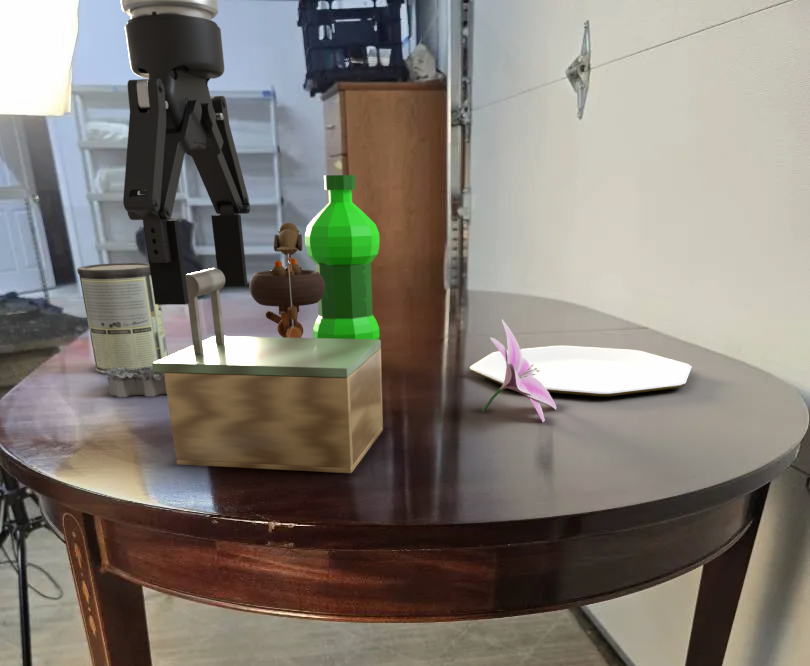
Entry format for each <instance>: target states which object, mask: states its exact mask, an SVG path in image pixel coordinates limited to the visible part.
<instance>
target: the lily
mask: <svg viewBox="0 0 810 666" xmlns="http://www.w3.org/2000/svg"><path fill="white" fill-rule="evenodd" d="M501 322H502V325H503V327H504V331H505V335H506V341H507V349H506V347H505V346H504V344H502V342H500V341H499V340H498V339H496V338H494V337H491V336H490V337H489V339H490V341H491V342H492V343H493V345H494V346H495V347H496V348H497V350H498V351H500V352H501V354H502V355H503V357H504V358H505V360H506V374H505V380H504V383H503V385H501V387H500V388H499V389H497V390H496V392H495V393H494V394H493V395H492V396H491V397H490V399H489V400H488V402H487V403H486V405H485V406H484V408H483V409H482V411H481V413H485V412H486V411H487V410H488V407H489V406H490V405H491V403H492V402H493V401H494V399H495V398H496V397H497V396H498V395H499V393H501V392H502V391H503V390H504V389H509V390H512V391H515V392H516V393H517V392H518V393H519V394H521V395H523V396H525V397H526V398H527V399H529V401H530V402H531V403H532V405H533V406H534V408H535V410H536V412H537V414H538V417H539V418H540V420H541V422H542V423H544V422H545V420H546V419H545V415H544V412H543V409H542V406H541V403H540V402H542V403H544V404H546V405H548V406H550V407H552V408H553V409H554V410H555V411H557V407H558V406H557V405H556V402H555V401H554V399H553V396H551V394H550V392H548V391H547V389H546V388H545V387H544V386H543V384H542V383H541V382H540V381H539V380H537V379H536V378H534V377H533V375H535V374H533V372H534V371H533V370H536V369H537V368H535V369H533V370H532V368H531V367H532V366H533V365H532V366H530V364H529V363H528V361H527V360H526V359H525V358H523V357H522V354H521V350H520V349H521V347H520V345H519V343H518V341H517V338H516V337H515V335H514V333H513V331H512V330H511V329H510V328H509V326H508V324H507V323H506V322H505V320H504V319H501ZM506 350H508V356H507V351H506ZM507 360H508V361H507ZM532 371H533V372H532ZM536 371H537V372H538V370H536ZM539 371H540V370H539Z"/></svg>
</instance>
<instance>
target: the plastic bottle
mask: <svg viewBox="0 0 810 666" xmlns="http://www.w3.org/2000/svg"><path fill="white" fill-rule="evenodd" d="M323 187H324V191H327V192H328V203H327V204H326V205H325V206H323V208H322V209H320V211H319V212H318V213H317V214H316V215H315V216H314V217H313V218H312V220H311V221H309V223H308V224H307V226H306V230H305V233H304V244H305V245H304V246H305V249H306V254H307V256H308V257H309V258H310V259H311V260H312V261H313V263H314V264H315V271H317V272H319V273H320V275H321V276H322V277H323V279H324V282H325V292H324V295H323V297H322V298H321V300H320V301H319V302H317V310H318V311H317V312H318V315H317V317H316V320H315V321H314V324H313V328H312V336H313V337H312V338H332V339H380V335H381V334H380V326H379V324H378V321H377V319H376V317H375V316H374V314H373V287H372V285H373V284H372V281H373V280H372V262H373V261H374V259H376V257H377V256H378V255H379V251H380V245H381V244H380V232H379V229H378V226H377V224H376V223H375V222H374V221H373V220H372V219H371V218H370V217H369V216H368V215H367V214H366V213H365V212H364V211H363V210H362V209H361V208H360V207H358V206H357V205H356V204H355V203H354V202H353V191H354V190H356V189H357V187H356V174H330V175H329V174H328V175H323Z"/></svg>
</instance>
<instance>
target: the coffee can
mask: <svg viewBox="0 0 810 666" xmlns="http://www.w3.org/2000/svg"><path fill="white" fill-rule="evenodd" d="M76 270H77V274H78V277H79V281H80V287H81V293H82V298H83V304H84V308H85V313H86V319H87V325H88V331H89V335H90V336H89V337H90V341H91V347H92V353H93V358H94V363H95V368H96V369H95V371H97V372H98V373H102V374H105V372H107V370H110V369H113V367H116V368H117V367H118V368H125V367H126V369H127V371H129V370H130V369H135V368H137V367H138V368H140V367H145V366H150V367H153V366H152V363H153V362H156V361H158V360H160V359H163V358H165V357H167V356H169V353H168V352H169V351H168V344H167V337H166V332H165V331H166V330H165V324H164V317H163V310H162V304H155V300H154V293H153V286H152V280H151V273H150V266H149V262H115V263H114V262H113V263H100V264H89V265H84V266H80V267H77V268H76ZM104 371H105V372H104Z"/></svg>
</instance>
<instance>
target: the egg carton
mask: <svg viewBox="0 0 810 666" xmlns="http://www.w3.org/2000/svg"><path fill="white" fill-rule="evenodd" d="M104 372H105V371H104ZM164 373H165V372H153V367H150V366H145V367H140V368H138V367H137V368H135V369H130V370H129V371H127V369H126V367H125V368H118V367H117V368H116V367H113V369H110V370H107V372H105V373H104V374H105V375H107V384H108V390H109V396H114V397H115V396H116V398H126V397H129V396H137V395H139V396H140V395H141V396H144V397H156V396H158V395H167V390H166V383H165V376H164Z"/></svg>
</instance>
